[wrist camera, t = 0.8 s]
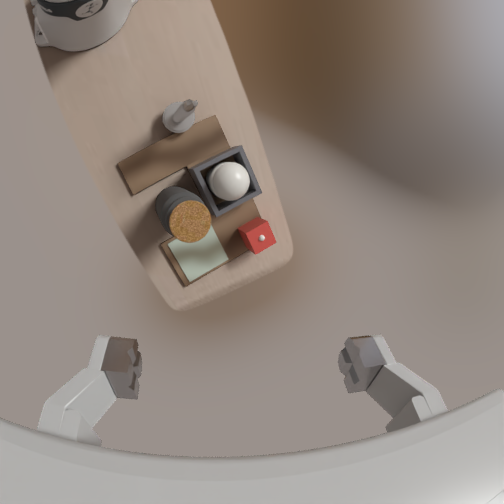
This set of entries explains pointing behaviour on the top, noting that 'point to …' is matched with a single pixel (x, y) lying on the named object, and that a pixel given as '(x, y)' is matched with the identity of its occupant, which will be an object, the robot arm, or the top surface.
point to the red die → (257, 235)
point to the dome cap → (227, 180)
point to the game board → (222, 227)
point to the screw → (179, 116)
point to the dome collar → (202, 187)
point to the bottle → (183, 214)
